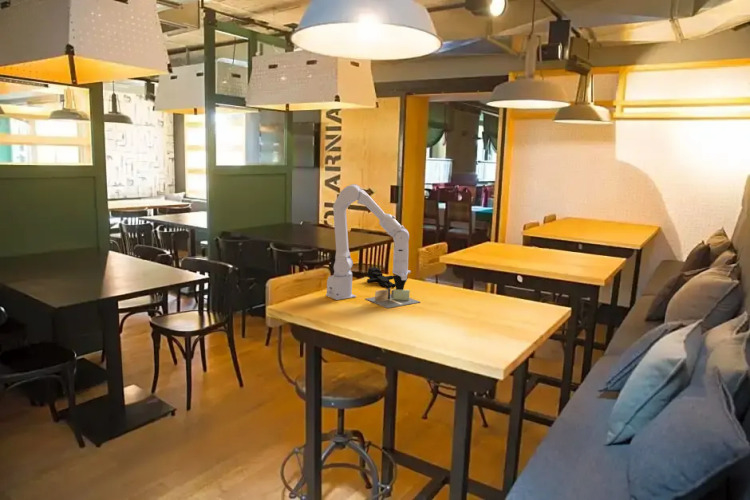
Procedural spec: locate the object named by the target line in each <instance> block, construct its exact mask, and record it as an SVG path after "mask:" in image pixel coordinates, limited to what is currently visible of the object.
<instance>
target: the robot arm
mask: <svg viewBox="0 0 750 500" xmlns="http://www.w3.org/2000/svg"><path fill="white" fill-rule="evenodd" d="M334 201H335V202H334V203H333V206H332V209H333V210H332V211H333V222H334V239H335V256H334V259H335V261H334V264H333V271H334V272H333V274H332V275H329V276H328V278H327V280H326V294H325V296H327V297H329V298H331V299H334V300H335V301H338V300H339V301H340V300H346V299H351V298H356V297H357V295H355V294H353V292H352V290H353V272H352V270H351V269H352V268H353V265H354V262H353V259H352V257H351V252H350V250H349V249H350V248H349V235H348V232H349V231H348V220H347V209H348V208H349V207H350V206H351V205H352V204H353V203H354V202H356V204H358V205H364V206H365V207H366V208H367V209H368V210H369V211H370V212H372V214H373V215H374V216H375V217H376V218H377V219H379V226H381V228H383V230H384V231H385V232H386V233H387V234H388V235H389V236H390V237H392V239H393V243H394V247H393V257H392V258H393V260H392V262H393V263H392V265H393V266H392V274H393V275H391V276H392V277H393V279H392V280H393V282H394V284H395V289H401V290H405V289H404V288H405V285H406V282H407V280H408V279H409V277H408V274H411V272H412V271H411V270H409V250H410V249H409V241H410V233H409V231H408V229H407V228H405V226H404V225H403V224H402V225H401V223H399V221H398V220H396V218H397V217H396V216H395V215H393V214H390V213H385V212H384V210H383V209H382V208H381V206H379V205H378V204H377V203H376V201H375V200H374V199H373V198H372V197H371V196H370V195H369V194H368V192H366V191H365V190H364V189H363V188H362V187H361V186H360V185H358V184H355V183H352V184H350V185H347V186H345V187H344V188H343V189H342V190H341V191H339V194H338V196H337V198H336V200H334Z"/></svg>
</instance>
